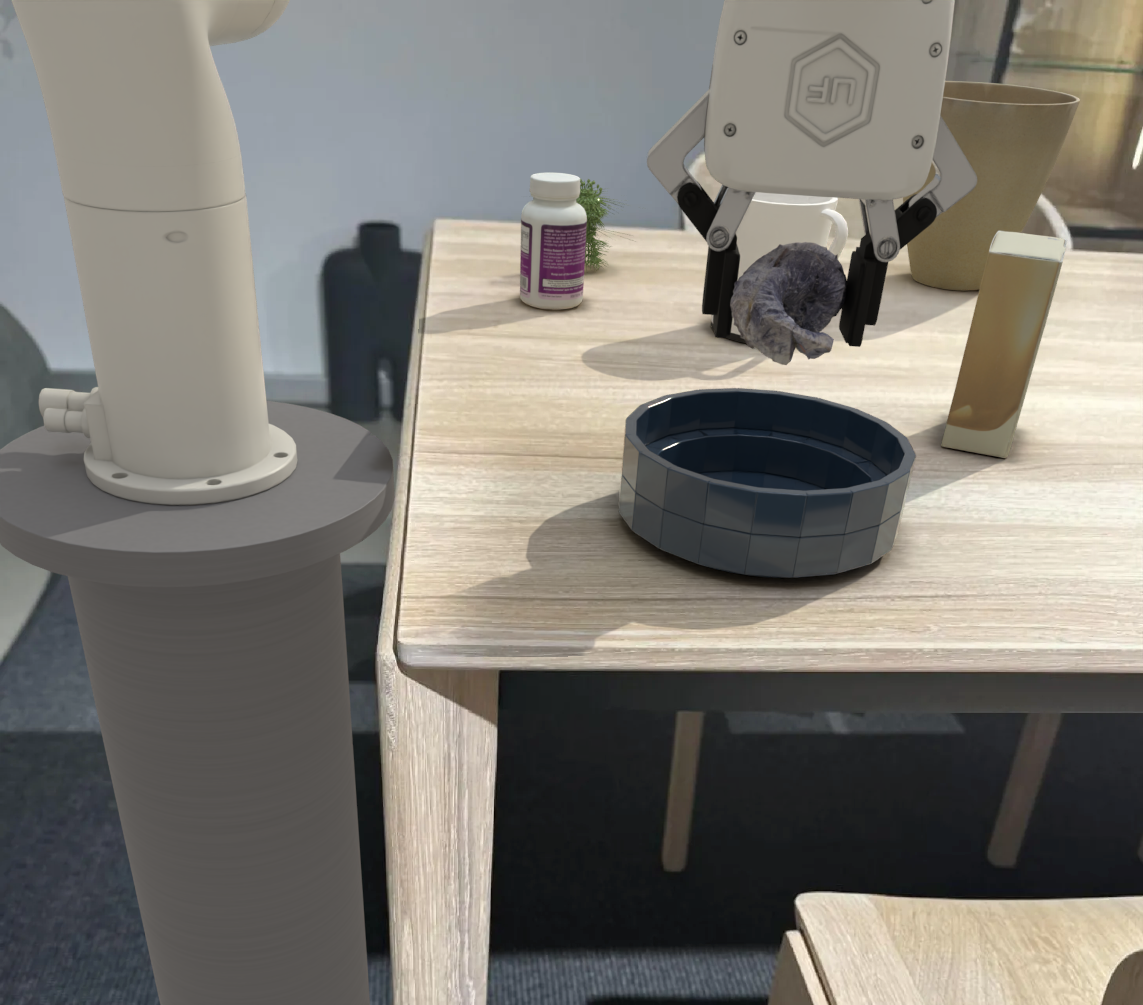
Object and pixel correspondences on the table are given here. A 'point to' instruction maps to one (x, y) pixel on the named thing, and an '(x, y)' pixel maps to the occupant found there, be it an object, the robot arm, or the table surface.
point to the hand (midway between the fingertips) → (785, 330)
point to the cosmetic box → (1003, 341)
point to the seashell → (789, 301)
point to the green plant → (593, 220)
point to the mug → (785, 229)
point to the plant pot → (990, 175)
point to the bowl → (764, 481)
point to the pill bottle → (553, 243)
